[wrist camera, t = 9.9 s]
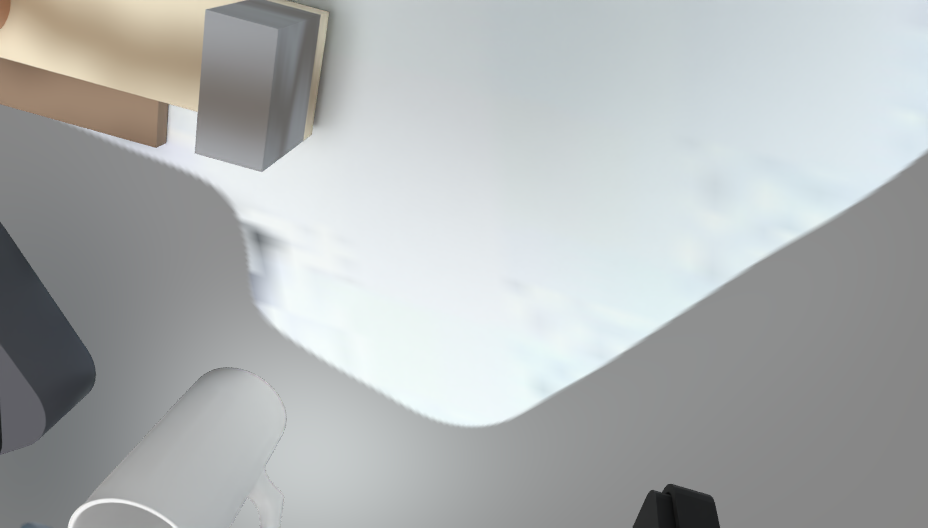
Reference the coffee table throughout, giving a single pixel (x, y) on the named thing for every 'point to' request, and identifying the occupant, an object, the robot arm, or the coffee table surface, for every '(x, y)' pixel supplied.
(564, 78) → the coffee table surface
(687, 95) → the coffee table surface
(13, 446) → the streaming box
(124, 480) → the mug
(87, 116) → the lane board
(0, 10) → the puck
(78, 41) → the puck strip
